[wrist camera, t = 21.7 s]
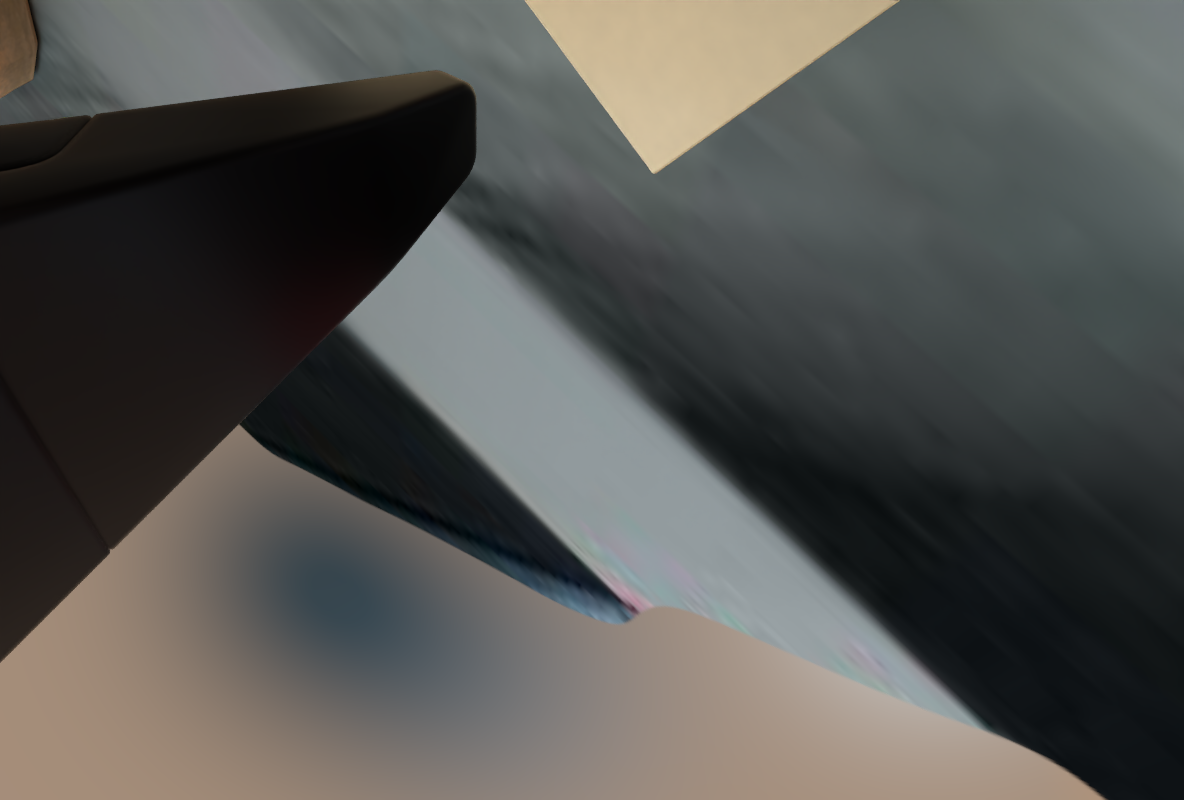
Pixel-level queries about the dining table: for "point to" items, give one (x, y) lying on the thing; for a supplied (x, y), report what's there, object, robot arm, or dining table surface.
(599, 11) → the wooden block
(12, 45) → the pottery
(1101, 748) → the dining table surface
